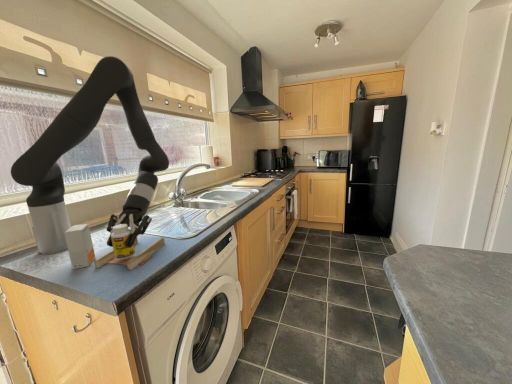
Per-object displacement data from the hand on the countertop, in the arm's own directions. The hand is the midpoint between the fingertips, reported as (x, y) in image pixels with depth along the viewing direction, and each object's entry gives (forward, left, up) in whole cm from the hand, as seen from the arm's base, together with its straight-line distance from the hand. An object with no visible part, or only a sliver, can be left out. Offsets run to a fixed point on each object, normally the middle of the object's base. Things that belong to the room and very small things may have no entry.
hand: (118, 246), depth 64 cm
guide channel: (0, +5, -6) cm, 8 cm away
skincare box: (-12, -1, -6) cm, 13 cm away
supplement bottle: (0, +2, -4) cm, 5 cm away
